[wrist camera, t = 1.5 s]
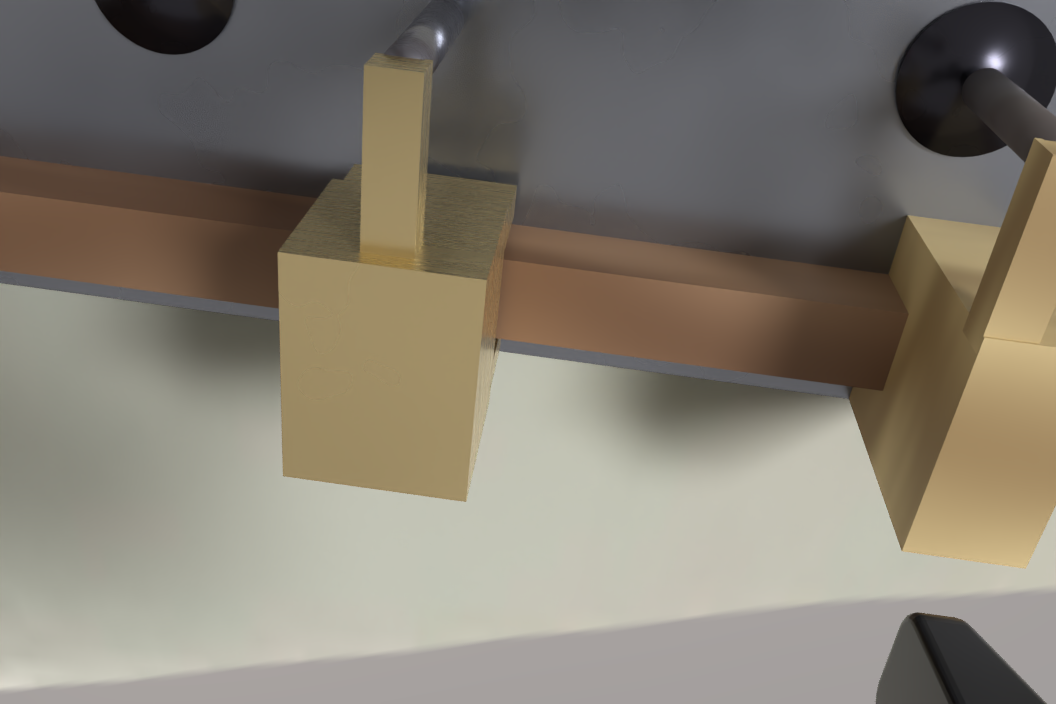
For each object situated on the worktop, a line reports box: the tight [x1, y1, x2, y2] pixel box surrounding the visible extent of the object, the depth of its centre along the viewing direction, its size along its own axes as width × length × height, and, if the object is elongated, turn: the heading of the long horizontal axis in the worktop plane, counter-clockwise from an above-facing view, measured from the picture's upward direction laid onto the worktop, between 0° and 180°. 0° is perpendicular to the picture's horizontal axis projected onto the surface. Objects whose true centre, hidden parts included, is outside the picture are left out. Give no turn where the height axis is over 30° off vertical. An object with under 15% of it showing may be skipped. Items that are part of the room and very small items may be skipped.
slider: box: [278, 0, 517, 502], centre depth 16 cm, size 7×3×5 cm, turn 174°
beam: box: [0, 68, 1056, 569], centre depth 17 cm, size 7×25×5 cm, turn 84°
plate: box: [0, 0, 1056, 399], centre depth 19 cm, size 9×26×1 cm, turn 84°
